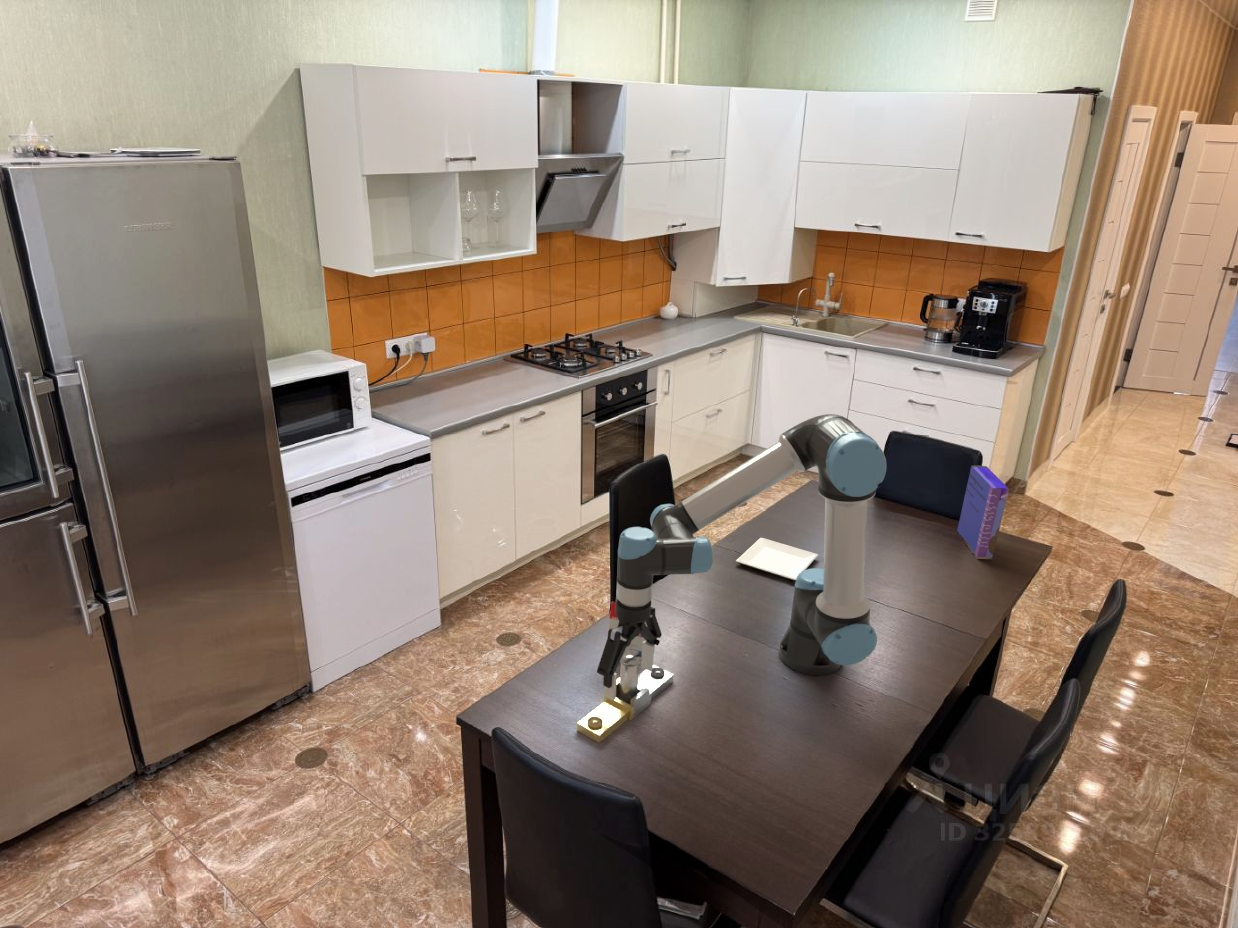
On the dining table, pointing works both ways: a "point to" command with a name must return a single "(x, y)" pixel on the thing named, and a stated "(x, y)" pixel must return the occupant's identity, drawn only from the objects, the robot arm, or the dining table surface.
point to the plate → (777, 558)
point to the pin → (629, 675)
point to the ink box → (635, 643)
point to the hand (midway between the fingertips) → (628, 682)
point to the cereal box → (982, 510)
